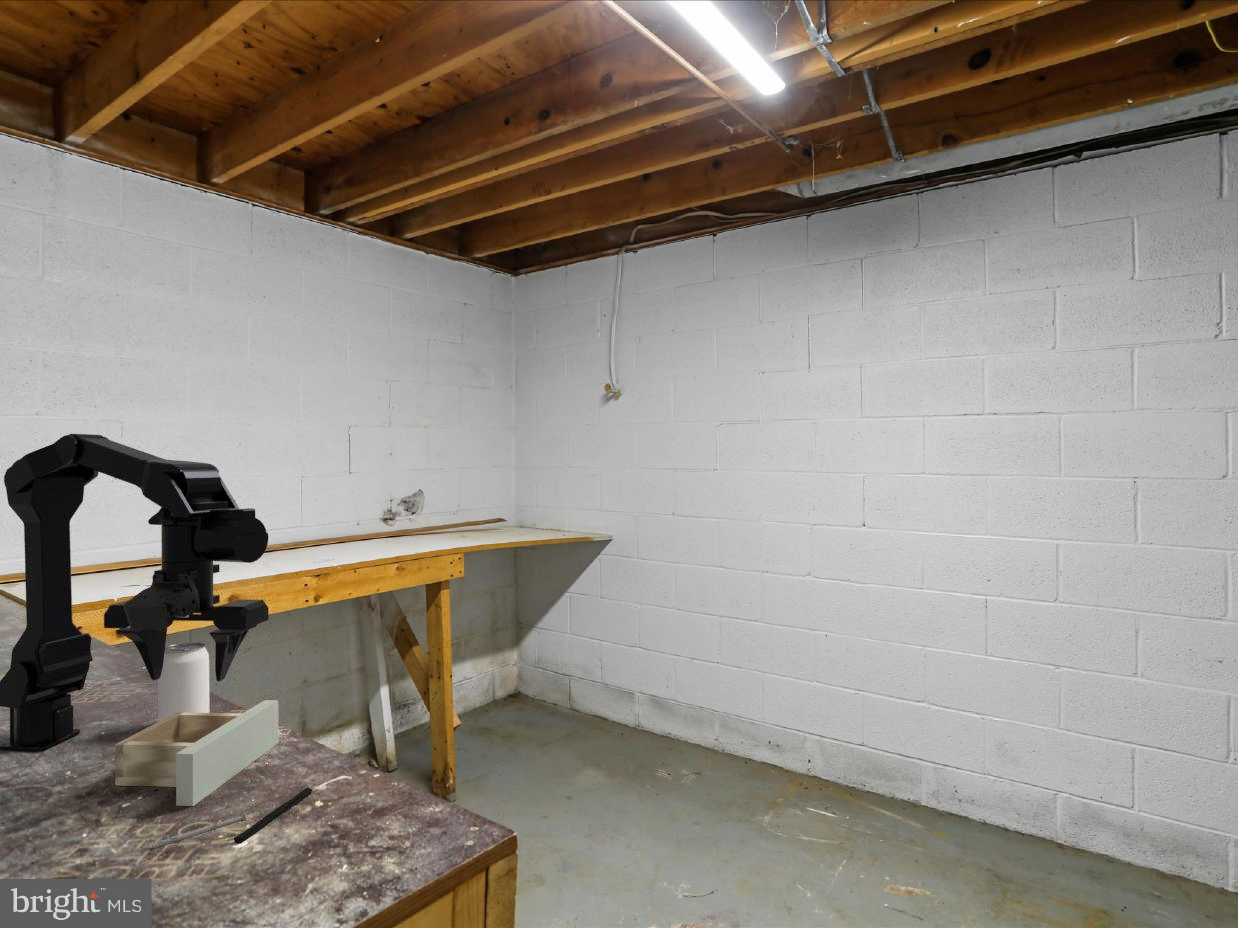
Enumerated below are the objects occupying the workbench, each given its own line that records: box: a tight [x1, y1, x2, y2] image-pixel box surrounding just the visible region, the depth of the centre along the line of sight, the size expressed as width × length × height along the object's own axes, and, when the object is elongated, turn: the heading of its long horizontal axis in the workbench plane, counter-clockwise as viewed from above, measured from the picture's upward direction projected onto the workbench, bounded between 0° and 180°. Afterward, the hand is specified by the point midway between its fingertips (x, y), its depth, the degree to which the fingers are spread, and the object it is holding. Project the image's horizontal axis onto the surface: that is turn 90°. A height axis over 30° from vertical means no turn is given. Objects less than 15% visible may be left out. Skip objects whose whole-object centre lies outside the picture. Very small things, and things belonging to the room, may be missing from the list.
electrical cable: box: [233, 784, 317, 845], centre depth 78 cm, size 12×1×1 cm, turn 167°
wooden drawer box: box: [114, 712, 244, 788], centre depth 90 cm, size 11×11×5 cm
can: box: [157, 641, 210, 723], centre depth 104 cm, size 6×6×12 cm
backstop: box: [175, 699, 280, 807], centre depth 89 cm, size 2×18×6 cm, turn 177°
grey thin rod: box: [152, 812, 247, 849], centre depth 74 cm, size 1×9×1 cm, turn 133°
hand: (188, 679), depth 90 cm, fingers open, 8 cm apart
